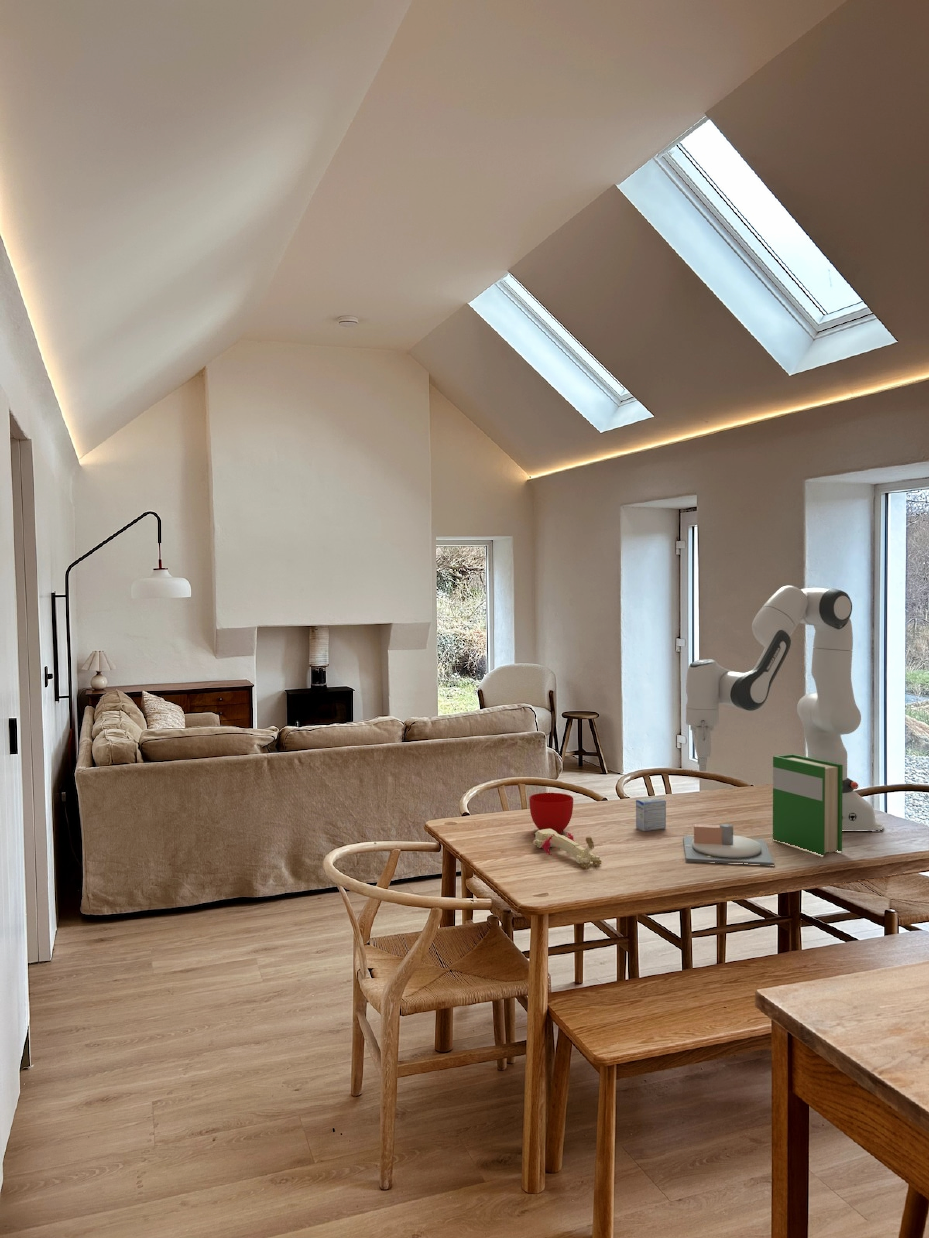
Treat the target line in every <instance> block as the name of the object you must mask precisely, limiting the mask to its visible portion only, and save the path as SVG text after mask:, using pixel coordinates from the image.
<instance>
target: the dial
mask: <svg viewBox="0 0 929 1238" xmlns="http://www.w3.org/2000/svg"><path fill="white" fill-rule="evenodd" d="M693 836H694V839H693V840H692V847H693V848H694V849H695V850H696V851H698V852H701V853H704V854H707V855H712V856H718V857H728V858H742V857H750V856H755V855H757V854H759V853H760V852H761V844H760V843H759V842H757V841H755V840H753V839H754V838H748V837H745V836H741V835H734V825H733V824H729V823H721V824H719V825H716V824H715V825H714V824H697V823H696V824H695V823H694V824H693Z"/></svg>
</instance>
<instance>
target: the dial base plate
mask: <svg viewBox="0 0 929 1238" xmlns="http://www.w3.org/2000/svg"><path fill="white" fill-rule="evenodd" d="M693 839H694V835H682V841H683V848H684V855H685V863H692V862H715V863H743V864H744V863H748V864H760V865H774V866H775V861H774V858H773V856H772V854H771V852H770V850H769V848H768V846H767V843H766V841H765V838H752V839H753V840H755V841H757V842H759V843H760V844H761V852H760V853H759V854H757V855H755V856H750V857H742V858H728V857H718V856H712V855H707V854H704V853H701V852H698V851H696V850H695V849H694V848H693V847H692V840H693Z"/></svg>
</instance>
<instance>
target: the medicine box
mask: <svg viewBox="0 0 929 1238" xmlns="http://www.w3.org/2000/svg"><path fill="white" fill-rule="evenodd" d="M635 828H636V829H638V830H640V831H641V832H650V831H656V830H664V829H666V828H667V800H666V799H663V798H661V797H658V796H657V797H648V798H641V799H636V800H635Z"/></svg>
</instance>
